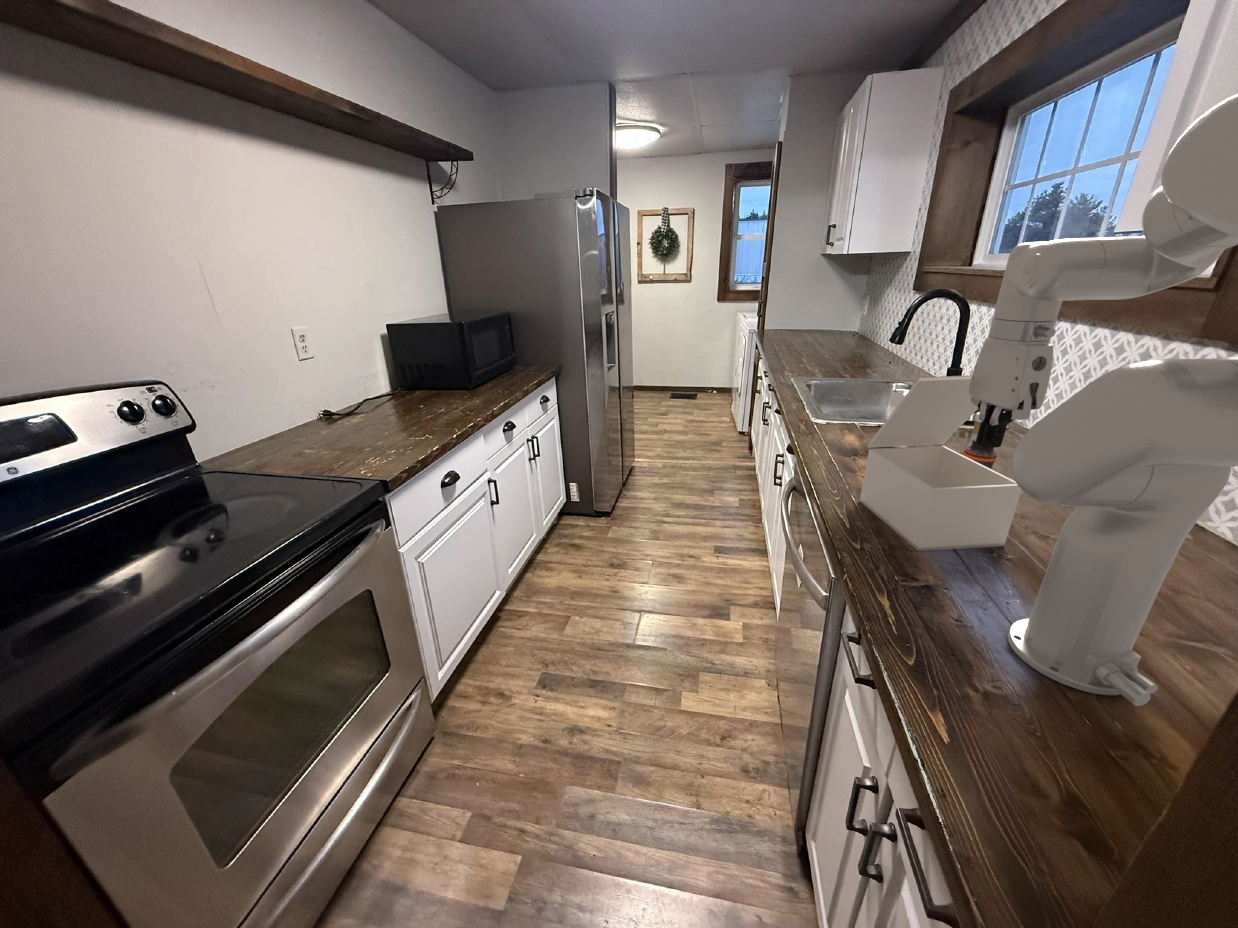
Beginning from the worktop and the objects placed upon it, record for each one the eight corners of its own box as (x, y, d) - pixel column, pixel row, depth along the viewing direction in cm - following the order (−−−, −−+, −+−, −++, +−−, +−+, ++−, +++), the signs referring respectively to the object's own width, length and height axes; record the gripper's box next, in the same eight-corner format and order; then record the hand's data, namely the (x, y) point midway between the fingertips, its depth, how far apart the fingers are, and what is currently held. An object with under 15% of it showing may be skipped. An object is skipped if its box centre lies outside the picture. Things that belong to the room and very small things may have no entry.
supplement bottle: (956, 490, 110) (968, 442, 106) (953, 480, 115) (965, 434, 111) (988, 495, 107) (1002, 446, 103) (984, 484, 112) (998, 438, 108)
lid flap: (1008, 377, 86) (1006, 374, 86) (920, 381, 85) (918, 377, 85) (942, 444, 103) (941, 441, 103) (868, 447, 102) (867, 444, 102)
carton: (1004, 546, 88) (1023, 485, 84) (918, 550, 87) (932, 489, 83) (931, 497, 107) (943, 445, 102) (859, 501, 106) (869, 449, 101)
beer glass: (875, 442, 140) (885, 390, 134) (892, 439, 142) (903, 387, 137) (898, 450, 134) (909, 396, 128) (915, 446, 136) (926, 393, 131)
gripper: (1090, 338, 67) (1048, 462, 74) (1004, 324, 81) (976, 430, 88) (1038, 340, 67) (1001, 464, 74) (961, 326, 81) (935, 432, 88)
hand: (987, 445), depth 81 cm, fingers closed
